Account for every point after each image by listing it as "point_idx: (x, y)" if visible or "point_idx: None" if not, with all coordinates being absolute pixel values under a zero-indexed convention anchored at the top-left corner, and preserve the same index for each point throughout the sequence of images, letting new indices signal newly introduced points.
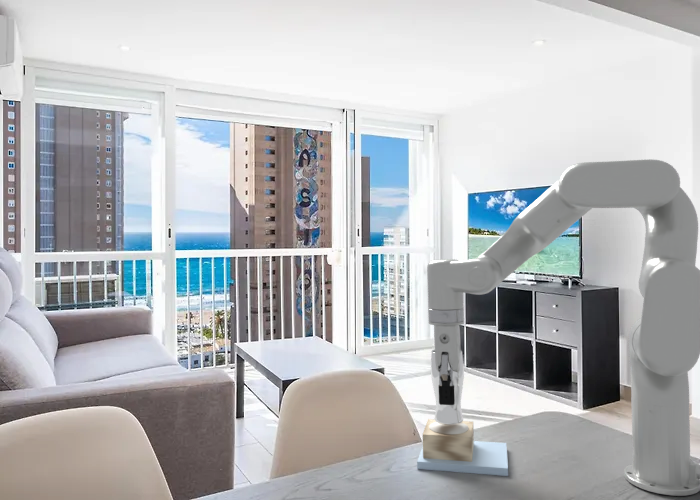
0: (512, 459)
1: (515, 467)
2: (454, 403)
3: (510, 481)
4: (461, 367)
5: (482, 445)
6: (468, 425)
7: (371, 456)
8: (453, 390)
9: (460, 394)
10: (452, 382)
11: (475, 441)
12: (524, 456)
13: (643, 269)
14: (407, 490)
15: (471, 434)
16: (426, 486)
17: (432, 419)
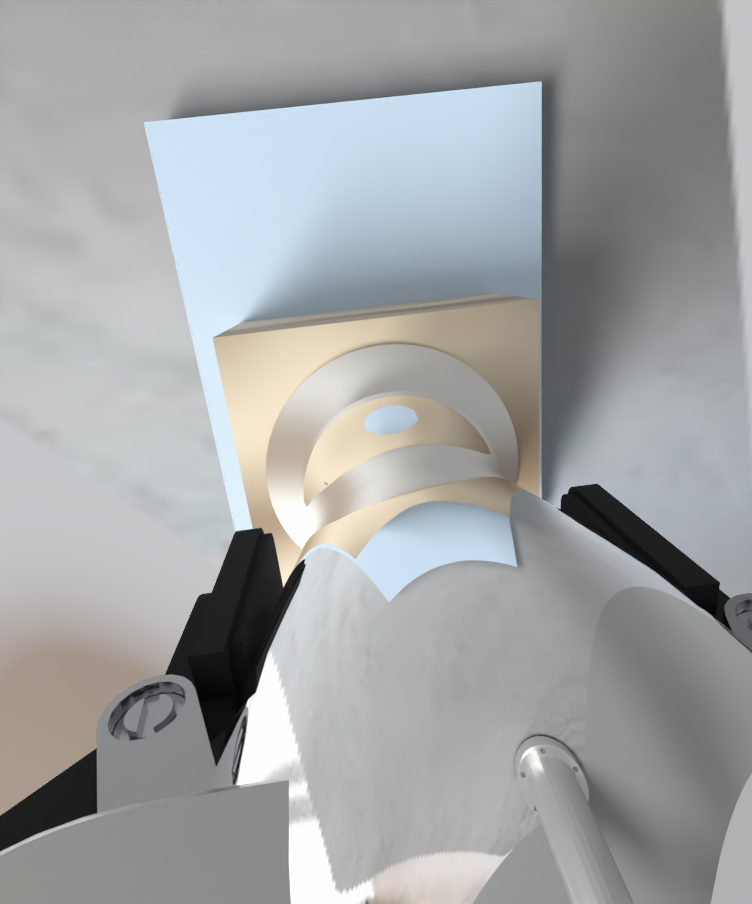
0: (294, 84)
1: (403, 59)
2: (597, 485)
3: (585, 78)
4: None
5: (244, 270)
6: (307, 357)
7: None
8: (678, 558)
9: (485, 474)
10: (750, 634)
11: (195, 319)
12: (221, 6)
13: None
14: (723, 499)
15: (484, 307)
16: (684, 444)
17: None
